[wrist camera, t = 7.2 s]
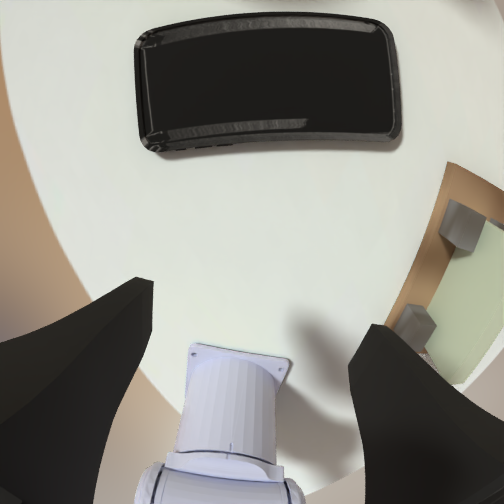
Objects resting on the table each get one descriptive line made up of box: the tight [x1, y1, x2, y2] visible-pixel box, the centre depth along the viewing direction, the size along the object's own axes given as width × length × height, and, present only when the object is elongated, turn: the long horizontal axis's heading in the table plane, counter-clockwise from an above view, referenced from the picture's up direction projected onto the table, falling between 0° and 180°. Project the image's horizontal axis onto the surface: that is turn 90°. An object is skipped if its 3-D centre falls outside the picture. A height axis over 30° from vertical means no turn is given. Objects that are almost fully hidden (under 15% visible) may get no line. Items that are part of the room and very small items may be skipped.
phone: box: [134, 12, 401, 152], centre depth 13 cm, size 8×1×15 cm
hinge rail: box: [384, 162, 504, 353], centre depth 17 cm, size 15×7×4 cm, turn 169°
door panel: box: [424, 220, 504, 385], centre depth 15 cm, size 10×2×6 cm, turn 169°
